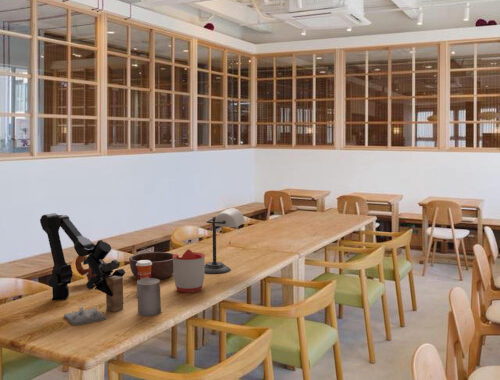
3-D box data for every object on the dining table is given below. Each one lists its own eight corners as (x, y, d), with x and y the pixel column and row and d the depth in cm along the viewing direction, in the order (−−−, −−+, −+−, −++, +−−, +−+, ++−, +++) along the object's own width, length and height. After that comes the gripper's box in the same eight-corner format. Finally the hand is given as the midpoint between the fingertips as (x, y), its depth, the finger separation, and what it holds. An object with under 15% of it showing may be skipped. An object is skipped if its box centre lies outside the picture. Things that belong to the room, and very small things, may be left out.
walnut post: (106, 310, 244) (105, 278, 243) (114, 307, 249) (114, 275, 247) (114, 311, 242) (114, 279, 240) (123, 308, 246) (122, 277, 245)
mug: (107, 280, 293) (106, 251, 291) (103, 284, 285) (102, 255, 283) (78, 280, 292) (77, 252, 291) (74, 285, 284) (73, 255, 283)
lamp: (235, 277, 297) (234, 213, 293) (191, 275, 302) (190, 212, 299) (247, 265, 322) (247, 206, 319) (206, 263, 328) (205, 205, 324)
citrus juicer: (193, 282, 287) (192, 244, 285) (211, 290, 273) (211, 249, 271) (165, 288, 278) (164, 248, 276) (183, 296, 264) (182, 254, 262)
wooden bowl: (124, 272, 308) (124, 254, 307) (169, 268, 319) (169, 250, 318) (135, 284, 286) (135, 264, 285) (183, 278, 296) (183, 259, 295)
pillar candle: (150, 307, 248) (149, 273, 246) (165, 311, 242) (164, 277, 240) (133, 313, 241) (131, 278, 239) (148, 317, 234) (146, 282, 233)
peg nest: (64, 317, 236) (64, 308, 235) (95, 311, 243) (94, 302, 243) (74, 325, 225) (73, 316, 225) (105, 319, 232) (105, 310, 232)
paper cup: (137, 292, 270) (136, 263, 269) (135, 288, 278) (135, 260, 276) (153, 291, 273) (153, 262, 271) (152, 287, 280) (151, 259, 278)
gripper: (90, 258, 237) (110, 288, 232) (121, 250, 253) (141, 278, 248) (77, 275, 242) (97, 304, 237) (109, 265, 258) (128, 293, 253)
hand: (116, 294), depth 244 cm, fingers closed on walnut post, 5 cm apart
